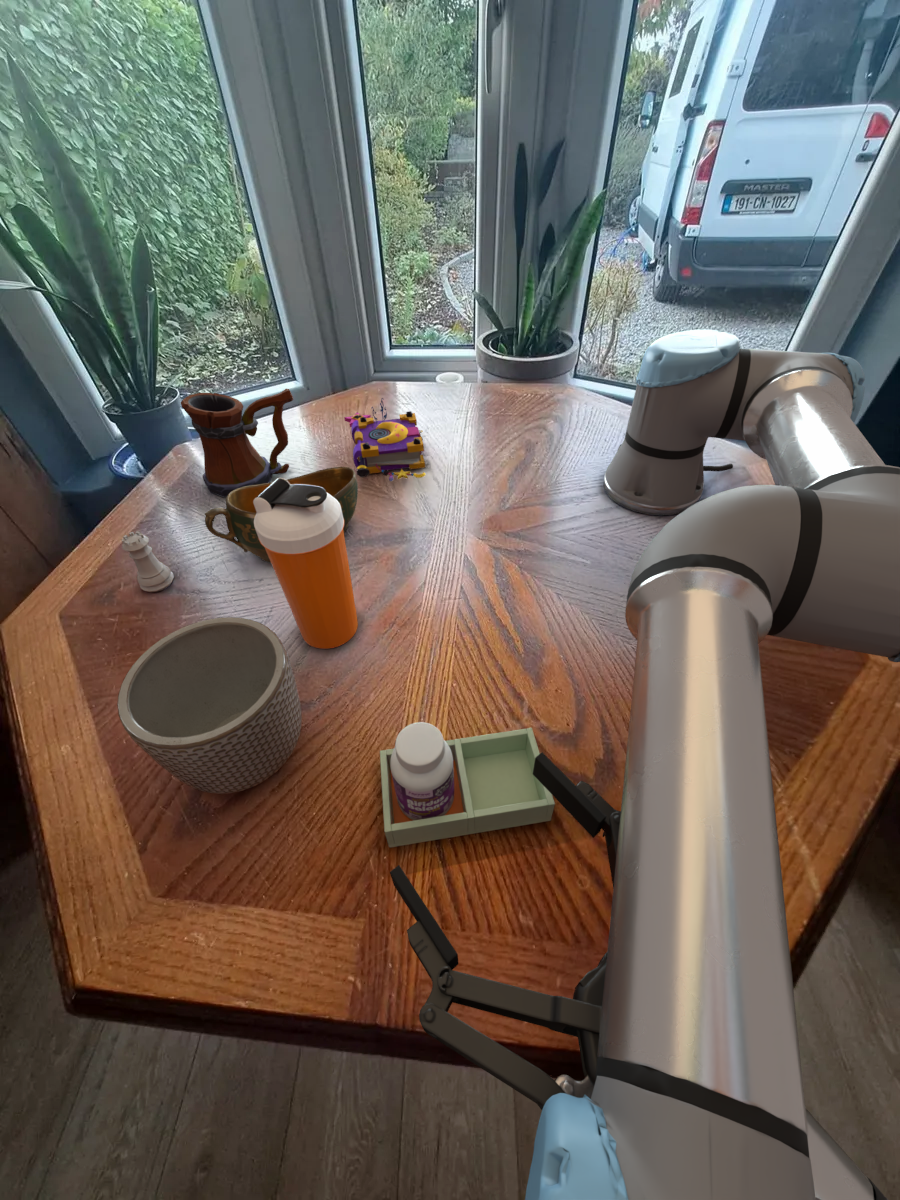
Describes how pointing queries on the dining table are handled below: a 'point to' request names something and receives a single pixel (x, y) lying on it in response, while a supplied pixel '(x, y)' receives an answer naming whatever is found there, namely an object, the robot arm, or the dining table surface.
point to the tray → (476, 790)
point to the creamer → (241, 499)
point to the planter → (214, 704)
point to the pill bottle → (422, 772)
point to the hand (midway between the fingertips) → (471, 814)
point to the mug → (235, 439)
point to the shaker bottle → (309, 559)
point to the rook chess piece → (147, 563)
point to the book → (386, 444)
